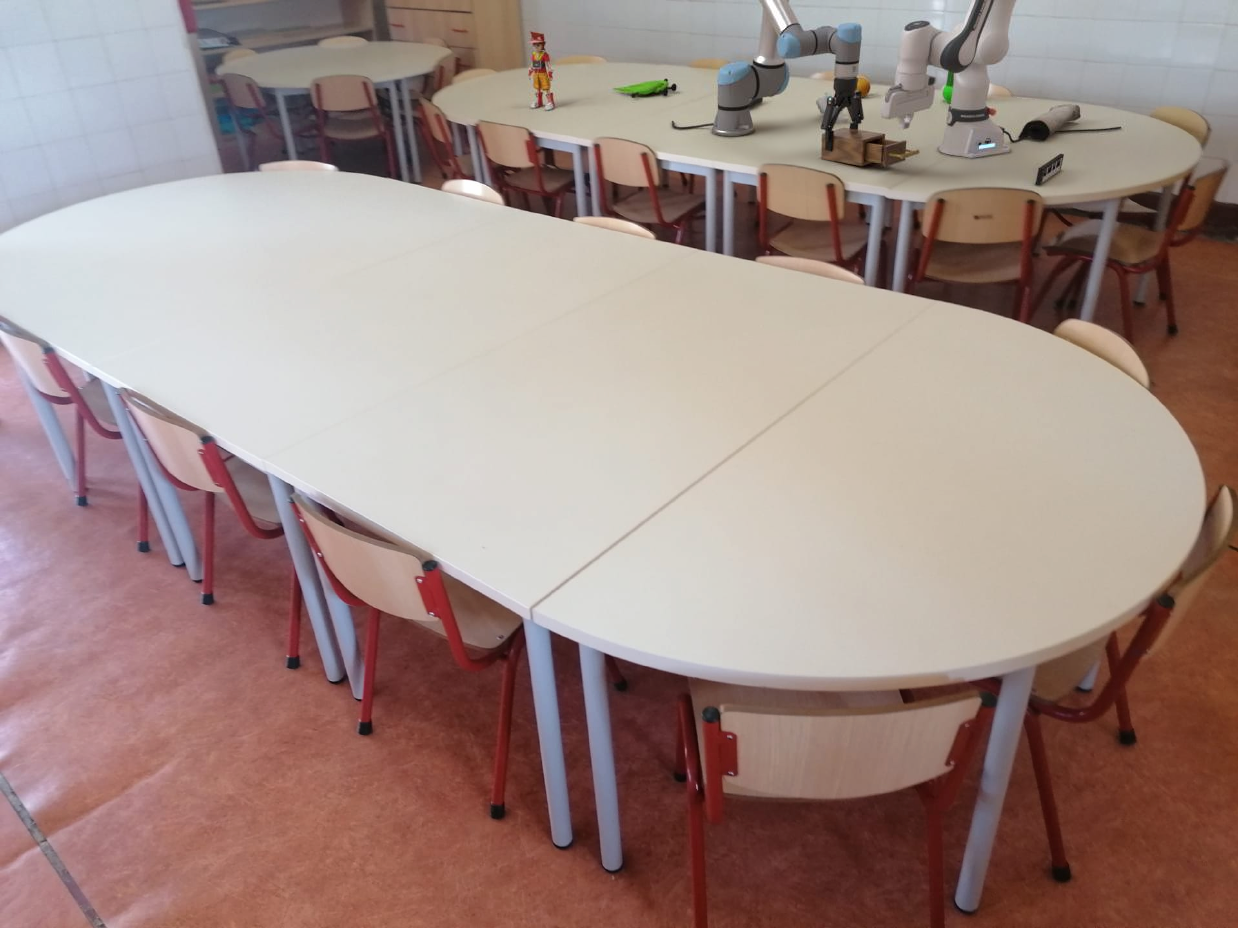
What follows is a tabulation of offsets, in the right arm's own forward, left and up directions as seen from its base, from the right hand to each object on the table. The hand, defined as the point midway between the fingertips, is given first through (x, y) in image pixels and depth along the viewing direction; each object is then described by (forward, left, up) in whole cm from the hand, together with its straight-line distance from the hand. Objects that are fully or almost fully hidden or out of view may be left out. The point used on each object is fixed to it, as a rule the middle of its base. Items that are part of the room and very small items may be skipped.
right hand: (904, 128), depth 278 cm
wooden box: (+9, -17, -13) cm, 24 cm away
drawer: (+3, -6, -11) cm, 13 cm away
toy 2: (+65, -140, -14) cm, 155 cm away
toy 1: (+109, -127, -14) cm, 168 cm away
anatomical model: (0, -71, -14) cm, 72 cm away
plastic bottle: (-53, -80, -14) cm, 97 cm away
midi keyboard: (-41, +17, -14) cm, 46 cm away
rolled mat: (-67, -32, -14) cm, 75 cm away
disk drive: (+27, -102, -14) cm, 106 cm away
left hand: (+12, -22, -10) cm, 27 cm away
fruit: (-21, -101, -14) cm, 104 cm away
